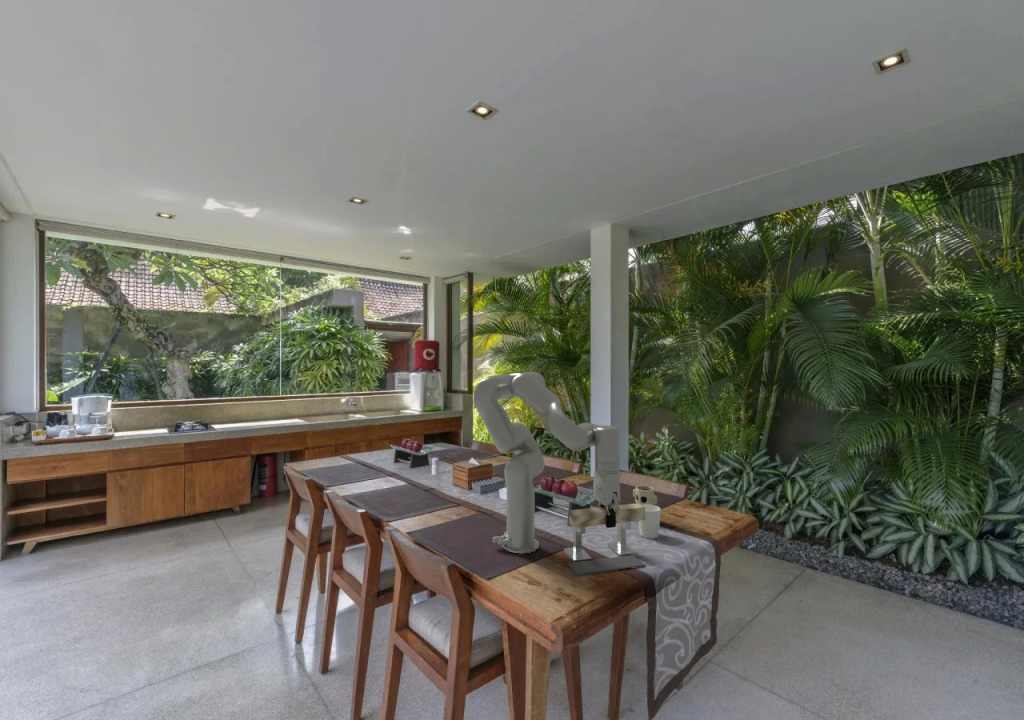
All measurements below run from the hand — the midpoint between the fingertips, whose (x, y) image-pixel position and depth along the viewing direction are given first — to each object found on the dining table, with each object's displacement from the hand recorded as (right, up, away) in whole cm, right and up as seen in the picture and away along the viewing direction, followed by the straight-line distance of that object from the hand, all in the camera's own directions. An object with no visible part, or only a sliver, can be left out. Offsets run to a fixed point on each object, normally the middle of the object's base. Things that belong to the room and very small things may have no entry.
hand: (607, 523), depth 145 cm
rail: (0, +1, 0) cm, 1 cm away
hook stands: (-1, -13, +9) cm, 16 cm away
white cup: (+20, -13, +25) cm, 34 cm away
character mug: (+23, -12, +39) cm, 47 cm away
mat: (0, -13, +1) cm, 13 cm away
